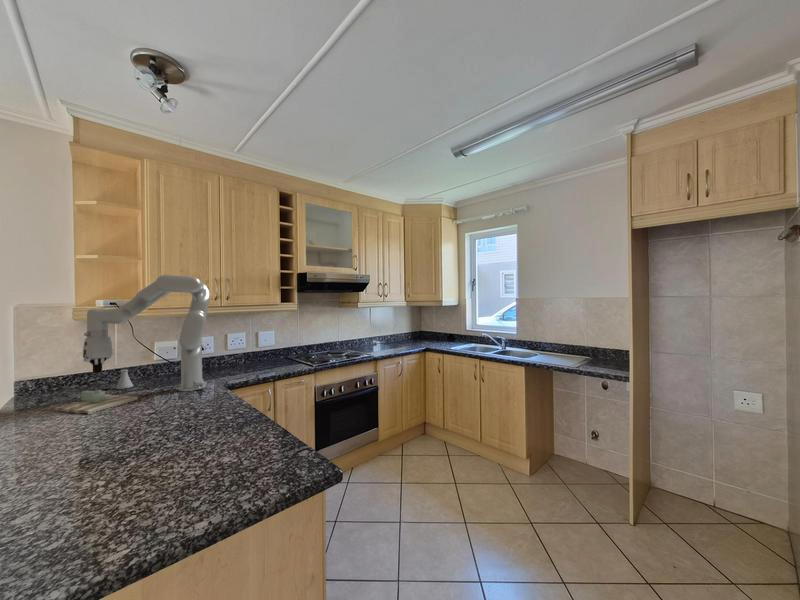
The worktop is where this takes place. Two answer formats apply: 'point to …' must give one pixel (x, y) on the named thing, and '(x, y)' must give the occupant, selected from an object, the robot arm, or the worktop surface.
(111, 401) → the lock base
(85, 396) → the lock lever
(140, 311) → the robot arm
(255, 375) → the worktop surface
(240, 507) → the worktop surface
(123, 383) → the flask
